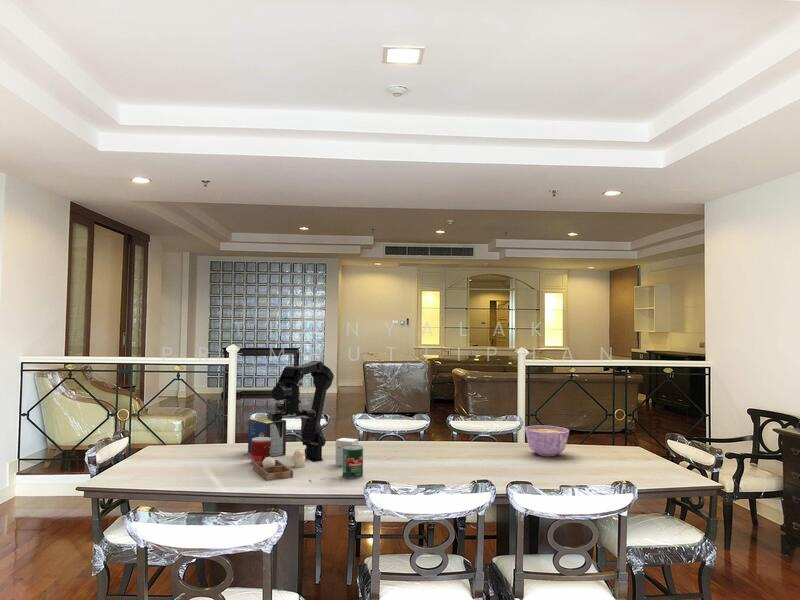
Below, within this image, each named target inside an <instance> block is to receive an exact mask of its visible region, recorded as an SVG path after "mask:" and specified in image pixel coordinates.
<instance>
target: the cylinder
mask: <svg viewBox="0 0 800 600" xmlns="http://www.w3.org/2000/svg"><path fill="white" fill-rule="evenodd" d="M305 467H306V458H305V450H303V449H296V450H295V451H294V453H293V468H296V469H301V468H305Z"/></svg>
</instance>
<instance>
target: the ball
mask: <svg viewBox="0 0 800 600" xmlns="http://www.w3.org/2000/svg"><path fill="white" fill-rule="evenodd" d="M275 460H276V459H275V458H274V457H266V458H265V459H264V460H263V463H262V465H263V468H264V467H273V466H275Z"/></svg>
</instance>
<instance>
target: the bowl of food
mask: <svg viewBox="0 0 800 600" xmlns="http://www.w3.org/2000/svg"><path fill="white" fill-rule="evenodd" d="M524 432H525V435H526V436H525V437H526V440H527V444H528V447H529V448H530V450H531V451H533V452H534V453H537V455H538V456H542V457H556V456H557V455H558V454H560V453H562V452H564V450H566V446H567V442H568V439H569V434H570V429H568V428H565V427H562V426H557V425H544V424H543V425H540V424H539V425H528V426H524Z"/></svg>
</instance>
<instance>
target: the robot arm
mask: <svg viewBox="0 0 800 600" xmlns="http://www.w3.org/2000/svg"><path fill="white" fill-rule="evenodd" d="M309 374H310V376H311V377H312V378H313V380H312V381H313V382H312V383H313V384H314V388H315V390H314V395H313V398H312V399H313V400H312V403H311V407H310V408H301V410H300V404H301V401H302V400H300V386H303V383H302V382H301V380H303V379H304V377H305V375H306V376H307V375H309ZM334 377H335V375H334V373H333V372H332V369H331V368H329V367H328V366H326V365H325V364H324V362H322V361H320V360H311V361H310V362H306V363H304V364H300V365H298V366H296V365H295V366H291V365H290V366H289V365H287V366H284V368H283V370H282V372H281V375H280V376H279V379H278V381H277V382H276V383H275V386H274V387H273V388H272V390H271V398H273V400H275V401H277V402H276V403H275V404H274V405H275V406H274V409H275V411H270V412H268V414H267V416H268V420H271V421H272V422H274V423H275V425H276V427H277V430H278V433H279V436H280V438H282V431H283V421H281V419H282V420H283V419H285V418H295V417H297V418H298V417H300V421H301V424H300V437H301V442H302V445H303V446H305V448H304V452H305V459H307V460H308V461H310V462H317V461H323V460H324V458H323V455H322V454H323V447H325V445H326V441H327V439H326V438H325V437H324V435H323V428H322V425H321V421H322V415H323V410H324V405H325V399H326V396H327V395H326V394H327V391H328V390H329V388H330V387H331V386H332V384H333V381H334ZM282 400H283V403H281V402H280V401H282Z"/></svg>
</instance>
